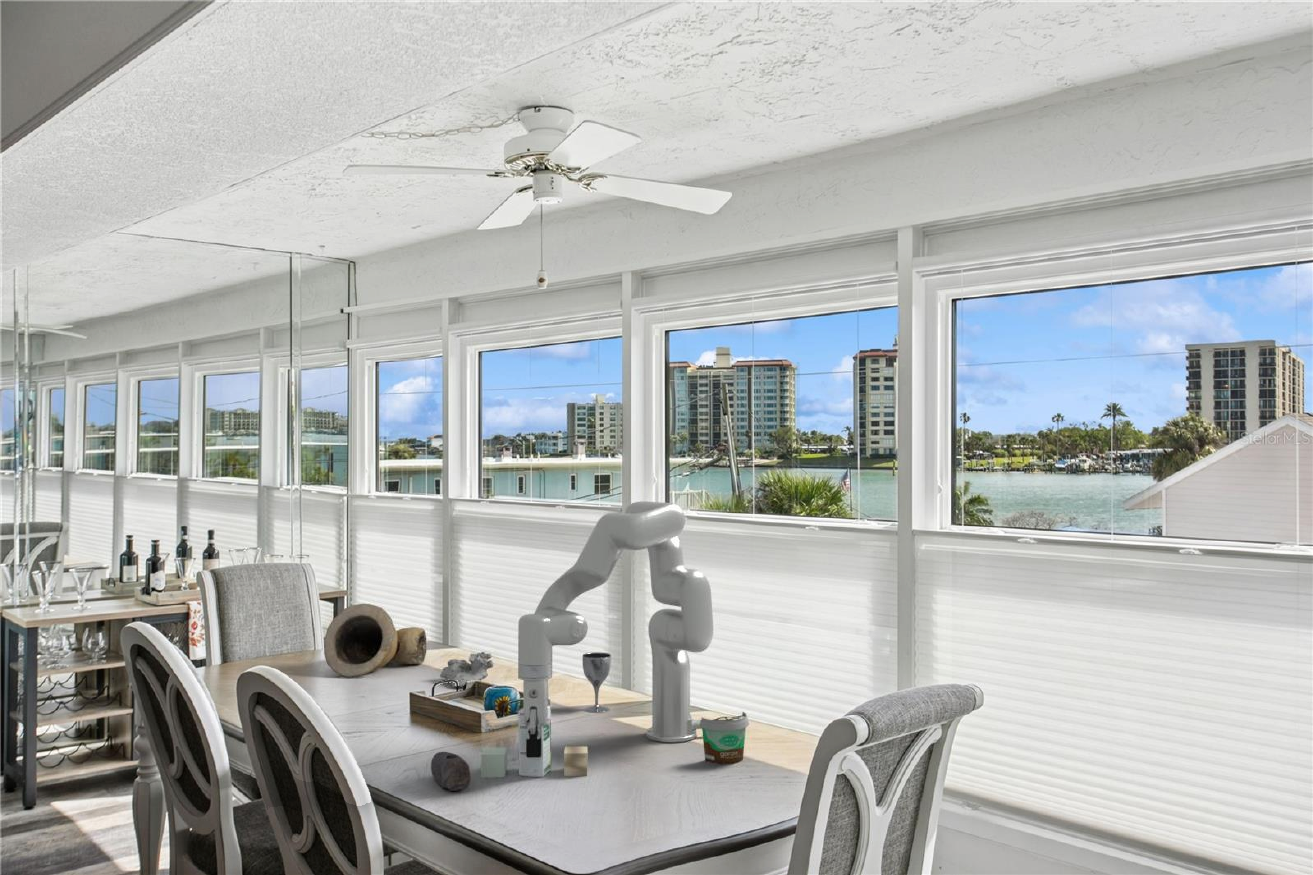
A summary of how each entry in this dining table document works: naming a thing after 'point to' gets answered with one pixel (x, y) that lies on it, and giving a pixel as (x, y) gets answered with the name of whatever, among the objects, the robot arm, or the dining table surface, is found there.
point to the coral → (468, 668)
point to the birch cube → (575, 761)
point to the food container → (724, 739)
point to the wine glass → (596, 675)
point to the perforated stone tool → (450, 771)
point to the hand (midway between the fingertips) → (535, 751)
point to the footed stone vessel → (370, 641)
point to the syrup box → (543, 763)
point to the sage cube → (493, 762)
